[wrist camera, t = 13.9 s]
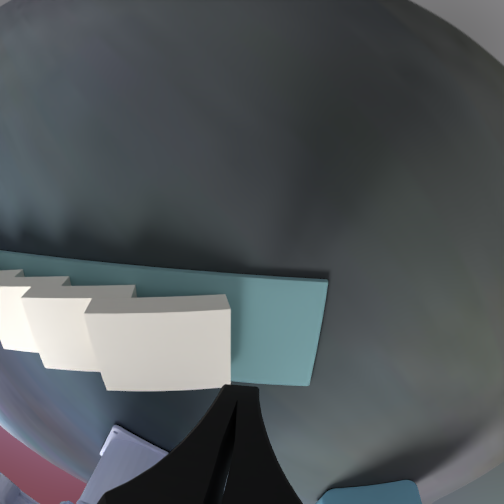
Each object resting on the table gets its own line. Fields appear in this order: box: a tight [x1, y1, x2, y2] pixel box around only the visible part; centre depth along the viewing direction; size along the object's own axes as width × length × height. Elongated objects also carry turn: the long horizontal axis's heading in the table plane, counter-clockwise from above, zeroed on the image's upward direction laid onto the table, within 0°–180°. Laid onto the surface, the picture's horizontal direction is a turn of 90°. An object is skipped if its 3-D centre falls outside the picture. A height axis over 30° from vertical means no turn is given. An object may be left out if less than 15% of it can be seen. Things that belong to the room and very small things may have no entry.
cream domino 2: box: [21, 285, 137, 372], centre depth 14 cm, size 2×5×7 cm
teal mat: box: [0, 250, 328, 386], centre depth 16 cm, size 28×7×1 cm, turn 88°
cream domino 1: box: [0, 276, 71, 353], centre depth 14 cm, size 2×5×7 cm
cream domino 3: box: [84, 294, 231, 391], centre depth 14 cm, size 2×5×7 cm
